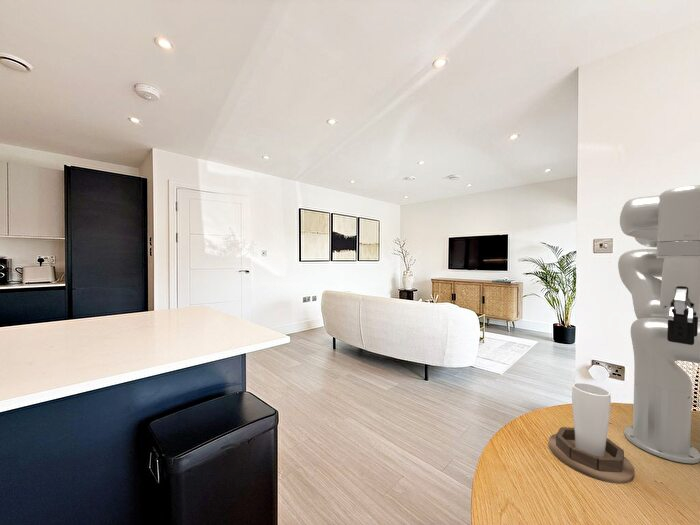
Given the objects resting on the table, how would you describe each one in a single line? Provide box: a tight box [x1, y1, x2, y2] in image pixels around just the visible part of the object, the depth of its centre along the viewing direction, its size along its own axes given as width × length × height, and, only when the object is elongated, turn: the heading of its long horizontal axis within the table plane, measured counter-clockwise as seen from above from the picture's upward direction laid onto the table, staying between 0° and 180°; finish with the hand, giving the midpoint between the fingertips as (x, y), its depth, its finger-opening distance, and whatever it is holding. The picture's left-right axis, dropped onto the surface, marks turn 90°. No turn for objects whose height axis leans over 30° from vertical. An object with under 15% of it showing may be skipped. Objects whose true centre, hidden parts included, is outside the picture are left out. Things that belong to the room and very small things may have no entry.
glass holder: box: [548, 426, 635, 484], centre depth 65 cm, size 15×15×4 cm
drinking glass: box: [571, 382, 612, 457], centre depth 65 cm, size 7×7×15 cm
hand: (682, 338), depth 55 cm, fingers open, 9 cm apart
